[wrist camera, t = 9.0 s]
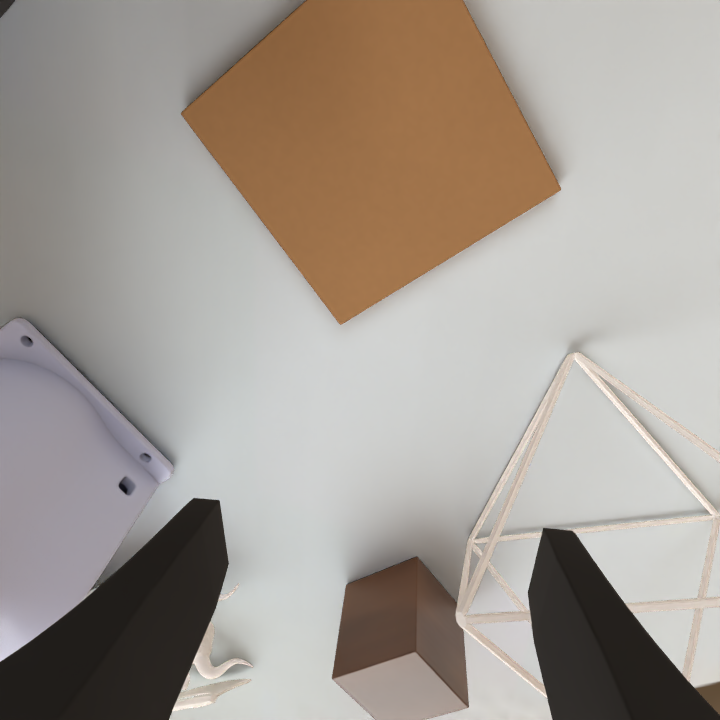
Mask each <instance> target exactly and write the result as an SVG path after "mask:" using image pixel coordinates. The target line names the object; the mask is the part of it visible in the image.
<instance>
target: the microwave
mask: <svg viewBox="0 0 720 720" xmlns="http://www.w3.org/2000/svg"><path fill="white" fill-rule="evenodd" d="M14 1H15V0H0V18H1V17H2V15H3V14H4V13H5V12H6V11H7V9H8V8H9V7H10V6H11V5H12V4H13V2H14Z"/></svg>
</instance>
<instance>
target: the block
mask: <svg viewBox="0 0 720 720" xmlns="http://www.w3.org/2000/svg"><path fill="white" fill-rule="evenodd" d="M456 608H457V603H456V602H455V600H454V599H453V598H452V597H451V596H450V595H449V593H448V592H447V591H446V590H445V589H444V587H443V586H442V585H441V584H440V583H439V582H438V580H437V579H436V578H435V577H434V576H433V575H432V573H431V572H430V571H429V570H428V569H427V568H426V566H425V565H424V564H423V563H422V562H421V561H420V559H419V558H418V557H415V558H412V559H410V560H407V561H405V562H402V563H400V564H397V565H395V566H392V567H390V568H387V569H385V570H382V571H380V572H377V573H375V574H372V575H370V576H367V577H365V578H362V579H360V580H357V581H355V582H352V583H350V584H347V585H346V589H345V596H344V602H343V609H342V615H341V622H340V628H339V635H338V642H337V648H336V655H335V661H334V668H333V674H332V679H333V680H334V681H335V682H336V683H337V684H338V685H339V686H340V687H341V688H342V689H343V690H344V691H345V692H346V693H348V694H349V695H350V696H351V697H352V698H353V699H354V700H355V701H356V702H357V703H358V704H359V705H360V706H361V707H362V708H364V709H365V710H366V711H367V712H368V713H369V714H370V715H371V716H372V717H373V718H374V719H375V720H426V719H429V718H433V717H437V716H440V715H444V714H448V713H451V712H455V711H459V710H462V709H466V708H468V707H469V702H468V688H467V674H466V660H465V646H464V632H463V629H462V628H461V627H460V626H459V625H458V623H457V621H456V615H455V614H456Z"/></svg>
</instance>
